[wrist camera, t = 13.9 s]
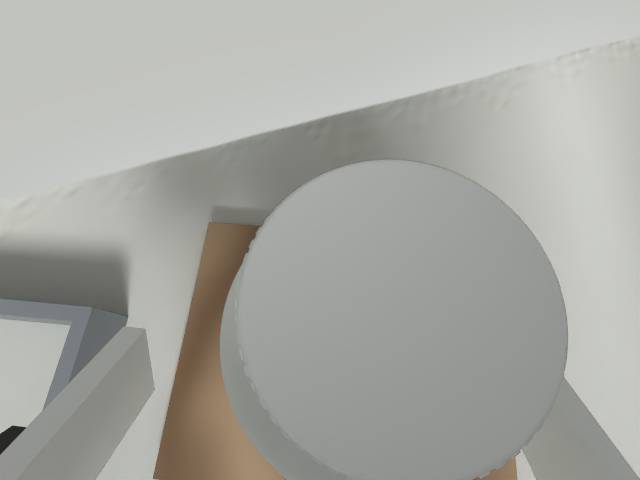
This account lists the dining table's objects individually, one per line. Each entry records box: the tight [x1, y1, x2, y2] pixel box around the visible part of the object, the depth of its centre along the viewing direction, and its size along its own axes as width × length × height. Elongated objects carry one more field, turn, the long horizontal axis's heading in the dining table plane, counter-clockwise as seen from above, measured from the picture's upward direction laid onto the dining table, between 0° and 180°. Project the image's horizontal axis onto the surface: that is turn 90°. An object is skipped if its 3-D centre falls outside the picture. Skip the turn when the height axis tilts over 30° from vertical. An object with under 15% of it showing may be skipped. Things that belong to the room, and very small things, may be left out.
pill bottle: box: [220, 159, 568, 480], centre depth 12 cm, size 8×8×15 cm
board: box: [153, 222, 517, 480], centre depth 20 cm, size 18×14×1 cm
